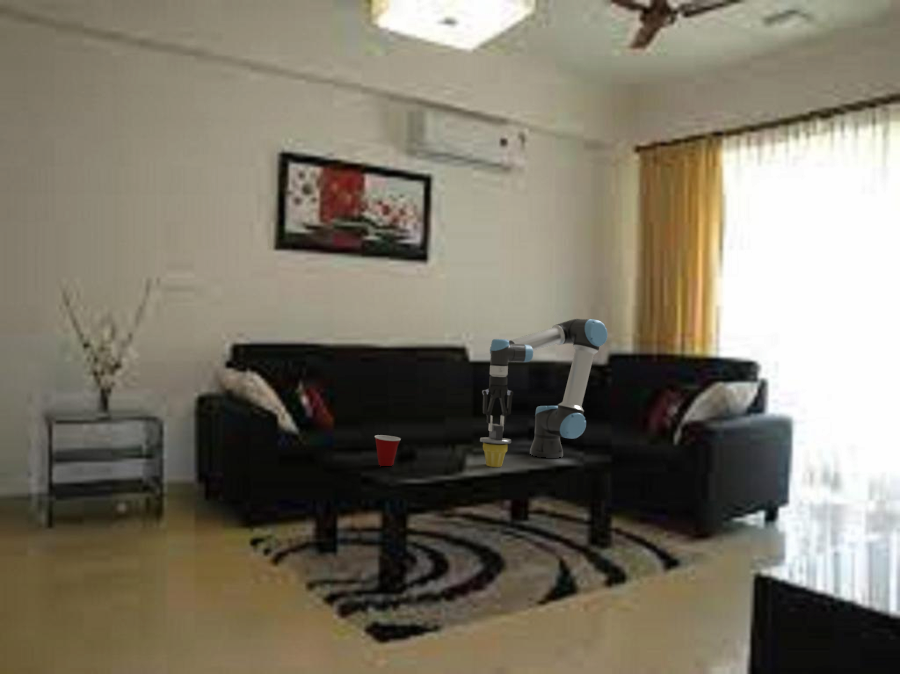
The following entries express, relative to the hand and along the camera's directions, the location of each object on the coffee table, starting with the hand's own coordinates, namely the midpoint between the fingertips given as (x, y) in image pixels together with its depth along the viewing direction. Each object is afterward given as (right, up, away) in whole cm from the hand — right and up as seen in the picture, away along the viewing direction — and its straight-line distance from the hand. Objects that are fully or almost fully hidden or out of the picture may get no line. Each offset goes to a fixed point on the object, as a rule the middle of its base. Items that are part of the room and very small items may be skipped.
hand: (495, 430), depth 338 cm
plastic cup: (-45, -13, -11) cm, 48 cm away
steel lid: (0, -5, 0) cm, 5 cm away
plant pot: (-1, -15, 0) cm, 15 cm away
